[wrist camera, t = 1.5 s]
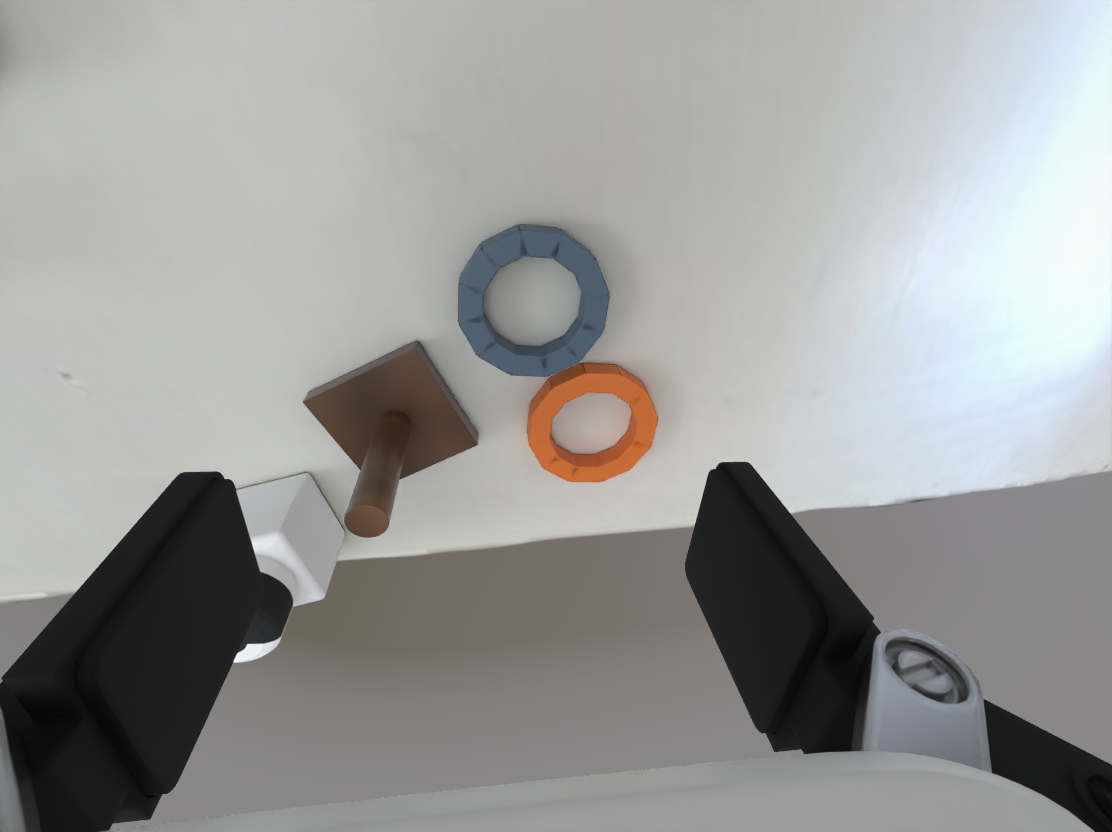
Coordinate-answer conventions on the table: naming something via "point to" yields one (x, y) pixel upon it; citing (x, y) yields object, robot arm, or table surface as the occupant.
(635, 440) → the orange ring
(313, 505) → the medicine bottle
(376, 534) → the stand
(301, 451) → the table surface
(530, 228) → the slate ring
